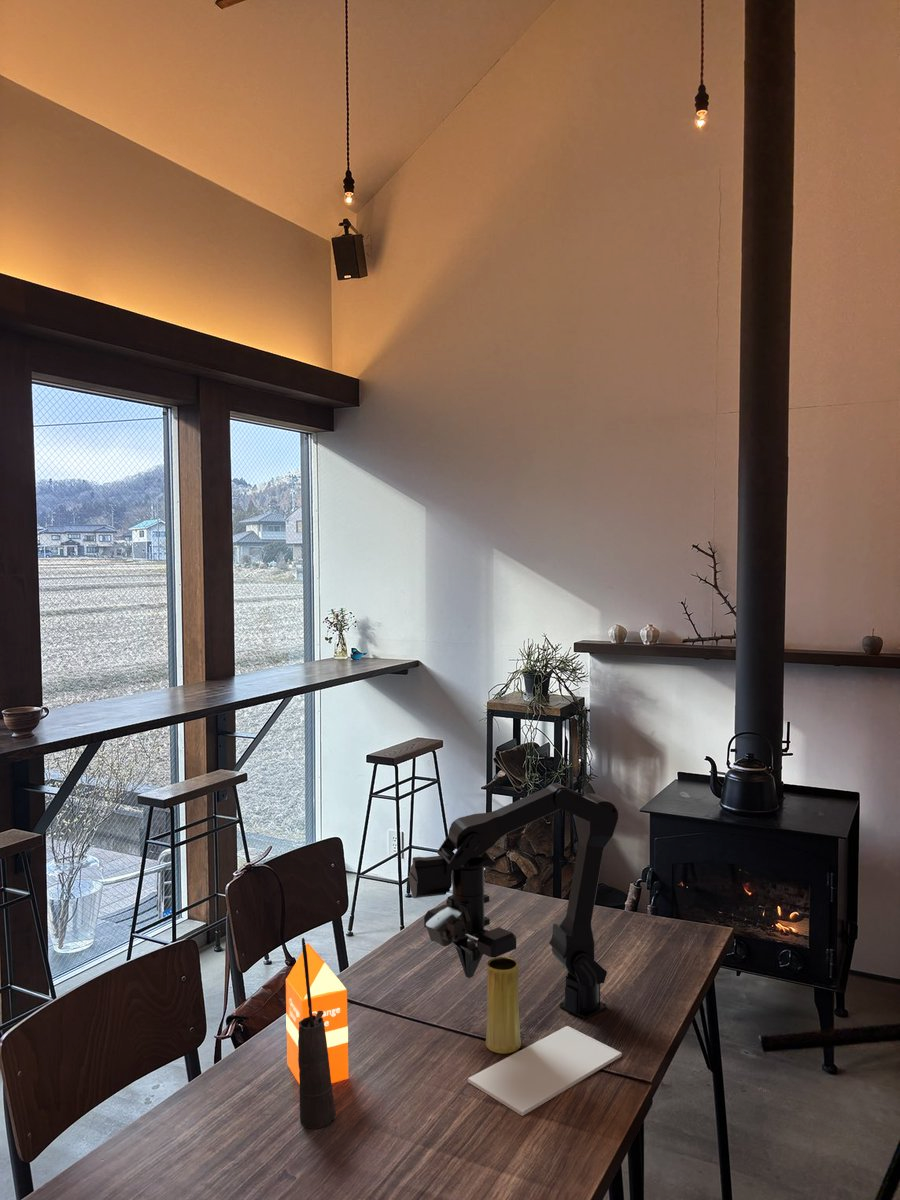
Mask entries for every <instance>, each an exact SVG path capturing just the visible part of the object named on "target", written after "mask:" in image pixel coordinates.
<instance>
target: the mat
mask: <svg viewBox="0 0 900 1200" xmlns="http://www.w3.org/2000/svg"><path fill="white" fill-rule="evenodd" d="M622 1054H623V1053H622V1052H621V1051H619V1050H617V1049H615V1048H613V1047H611V1046H608V1045H606V1044H605V1043H603V1042H601V1041H599V1040H597V1039H595V1038H593V1037H590V1036H589V1035H587V1034H584V1033H583V1032H580V1031H579V1030H577V1029H575V1028H573V1027H570V1026H569V1025H566V1026H564V1027H562V1028H560V1029H558V1030H556V1031H554V1032H552V1033H551V1034H549V1035H547V1036H545V1037H544V1038H541V1039H539V1040H537V1041H535V1042H533V1043H532V1044H530V1045H528V1046H527V1047H524V1048H522V1049H521V1050H519V1051H518V1050H517V1051H516V1052H514V1053H513V1054H512V1055H509V1056H508V1057H505V1058H503V1059H502V1060H500V1061H497V1062H496V1063H494V1064H492V1065H490V1066H488V1067H487V1068H484V1069H483V1070H481V1071H479V1072H477V1073H475V1074H473V1075H472V1076H470V1077H468V1078H467V1082H468V1083H469V1084H470V1085H472V1086H473V1087H475V1088H477V1089H478V1090H480V1091H482V1092H483V1093H485V1094H486V1095H488V1096H489V1097H491V1098H493V1100H494V1099H495V1100H496V1101H497V1102H499V1103H500V1104H502V1105H504V1106H505V1107H507V1108H509V1109H510V1110H512V1111H514V1112H515V1113H517V1114H518V1115H520V1116H522V1117H524V1116H525V1115H526V1114H528V1113H530V1112H532V1111H533V1110H535V1109H536V1108H539V1107H540V1106H541V1105H543V1104H545V1103H546V1102H548V1101H549V1100H552V1099H553V1098H554V1097H557V1096H558V1095H559V1094H561V1093H563V1092H565V1091H566V1090H569V1088H571V1087H573V1086H575V1085H577V1084H578V1083H579V1082H582V1081H583V1080H584V1079H587V1078H588V1077H589V1076H591V1075H593V1074H595V1073H596V1072H598V1071H600V1070H601V1069H603V1068H604V1067H607V1066H608V1065H609V1064H611V1063H612V1062H615V1061H616V1060H618V1059H620V1058H621V1057H622Z"/></svg>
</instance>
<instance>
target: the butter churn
mask: <svg viewBox="0 0 900 1200" xmlns="http://www.w3.org/2000/svg"><path fill="white" fill-rule="evenodd" d="M301 948H302V949H301V950H302V951H303V959H304V968H305V978H306V989H307V999H308V1007H309V1017H307V1018H303V1019H302V1020H301V1021H299V1032H298V1034H299V1035H298V1036H299V1038H298V1048H299V1049H298V1051H299V1052H298V1066H299V1080H300V1084H299V1091H298V1093H299V1122H300V1123H301V1125H302V1126H303V1127H304V1128H308V1129H311V1130H316V1129H317V1130H318V1129H320V1128H321V1129H322V1128H324V1127H327V1126H329V1125H331V1122H332V1121H333V1120H335V1119H336V1107H335V1101H334V1093H333V1083H331V1075H330V1065H329V1054H328V1050H327V1041H326V1034H325V1027H324V1021H323V1018H321V1017H322V1015H323V1013H324V1012H323V1011H318V1012H317V1015H316V1016H315V1015H314V1016H313V1014H312V1003H311V993H310V984H309V971H308V959H307V950H306V939H305V938H304V937H302V939H301Z"/></svg>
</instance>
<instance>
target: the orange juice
mask: <svg viewBox="0 0 900 1200" xmlns="http://www.w3.org/2000/svg"><path fill="white" fill-rule="evenodd" d="M305 945H306V950H307V959H308V971H309V984H310V993H311V1003H312V1014H313V1016H314V1015H315V1016H316V1015H317V1012H318V1011H323V1012H324V1013H323V1015H322V1017H321V1018H323V1021H324V1027H325V1034H326V1041H327V1050H328V1054H329V1065H330V1075H331V1083H332V1084H334V1083H338V1082H342V1081H344V1080H348V1079H349V1044H348V1043H349V1026H348V990H347V988H346V987H345V986H344V984H343V983H342V981H340V979H339V978H338V977H337V976H336V974H335V972H333V971H332V969H331V968H330V967H329V965H328V964H327V963H326V962H325V961H324V960H323V958H322V957H321V956H320V955H319V954H318V952H317V951H316V950H315V949H314V948H313V947H312V946H311V945H310V943H309V942H308V941H307V942H306V943H305ZM285 1004H286V1005H285V1007H286V1009H285V1010H286V1011H285V1012H286V1013H285V1021H286V1024H285V1025H286V1061H287V1063H286V1065H287V1066H288V1068H289V1070H290V1071H291V1073H292V1075H293V1076H294V1078H295V1080H296V1081H297V1083H298V1084H299V1085H300V1080H299V1066H298V1052H299V1051H298V1049H299V1048H298V1038H299V1036H298V1035H299V1034H298V1032H299V1021H301V1020H302V1019H303V1018H307V1017H309V1007H308V999H307V989H306V978H305V968H304V959H303V950H302V951H301V952H300V955H299V956H298V958H297V960H296V962H295V964H294V965H293V966H292V968H291V970H290V972H289V974H288V975H287V977H286V978H285Z"/></svg>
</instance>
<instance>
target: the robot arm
mask: <svg viewBox="0 0 900 1200" xmlns="http://www.w3.org/2000/svg"><path fill="white" fill-rule="evenodd" d="M559 810H564V811H566V812H568V813H571V814H572V815H574V822H575V823H574V825H575V829H576V833H577V840H578V841H577V842H578V844H577V848H576V849H577V850H576V855H575V860H574V861H575V862H574V868H573V874H572V879H571V886H570V891H569V897H568V903H567V909H566V915H565V917H564V919H563V920H562V922H560V924H558V923H553V924H552V934H551V939H550V940H549V945H550V946H551V952H552V954H553V956H554V957H555V959H556V960H557V961H558V962H559V964H561V966H562V967H563V969H565V970H566V971H567V973H566V974H567V975H566V976H565V986H564V1001H562V1002H559V1004H558V1005H559V1008H561V1009H563V1010H566V1011H567V1012H570V1013H571V1014H574V1015H576V1016H577V1017H580V1018H581V1019H585V1020H586V1019H589V1018H590V1017H593V1016H594V1015H596V1014H598V1013H600V1012H601V1011H604V1010H605V1009H608V1005H607V1004H606V1003H604V1002H602V1001H601V984H604V983H605V981H606V978H607V975H608V971H607V970H606V969H605V968H604V967H603V966H602V965H601V964H599V962H597V960H595V954H596V953H595V952H596V949H595V947H596V946H595V945H596V943H595V939H594V933H593V929H592V920H593V915H594V909H595V903H596V897H597V891H598V886H599V885H598V884H599V881H600V880H599V879H600V873H601V866H602V861H603V854H604V850H605V848H606V847H607V845H608V843H609V842H610V841H611V839H612V838H613V836H614V834H615V830H616V827H617V825H618V822H619V817H620V816H619V810H618V809H617V808H616V805H615V804H613V803H612V802H611V801H608V800H607V799H606V798H603V797H601V796H600V795H598V794H595V793H586V794H582V793H580V792H577V791H576V790H572V789H570V788H567V787H566V786H564V785H562V784H560V783H559V782H553V783H550V784H549V785H547V786H546V787H545V788H542V789H540V790H538V791H536V792H535V791H534V792H533V793H532V794H529V795H526V796H525V797H522V798H520V799H518V800H516V801H513V802H512V803H509V804H507V805H505V806H502V807H500V808H498V809H496V810H494V811H489V812H481V813H480V812H479V813H473V814H469V815H465V816H462V817H461V816H460V817H459V818H456V819H455V820H453V821H452V822H451V824H450V826H449V829H448V834H447V836H446V838H445V839H444V840H443V842H442V844H441V845H440V847H439V848H438V849H437V851H436V853H437V855H436V856H435V855H434V856H433V855H432V856H425V857H424V856H423V857H422V856H416V857H415V856H414V857H412V864H411V866H410V870H409V873H408V881H409V888H410V893H411V896H412V897H413V899H419V898H428V897H435V896H445V895H447V893H450V891H451V890H452V895H450V896H447V899H446V903H445V904H444V905H441V906H438V907H434V908H433V909H429V910H427V912H426V914H425V915H424V916H423V926H424V928H426V930H427V933H428V937H429V939H430V941H432V942H435V943H437V944H439V945H440V946H443V947H449V946H450V945H452V946H453V947H454V948H455V950H456V952H457V955H458V958H459V961H460V964H461V966H462V969H463V973H464V975H465V977H466V978H468V979H472V978H473V977H474V976H475V973H476V971H477V969H478V968H479V967H478V966H479V964H480V962H481V959H482V958H483V956H484V955H485V956H487V957H489V958H497V957H501V956H503V955H505V954H507V953H510V952H511V951H512V952H513V951H514V950H517V935H516V934H514V932H511V931H510V930H507V929H504V928H502V927H499V926H498V927H496V928H493V929H489V928H488V927H486V926H489V925H491V924H490V918H488V917H486V916H485V915H486V912H485V910H486V909H485V906H486V905H485V904H487V903H489V902H490V895H487V894H485V867H494V866H496V865H497V863H496V861H495V860H494V859H493V858H492V857H491V856H490V855H489V854H488V851H489V850H490V849H492V848H493V847H494V846H495V845H497V843H498V842H499V841H500V839H501V838H503V837H504V836H506V835H508V834H510V833H511V832H514V831H517V830H518V829H520V828H523V827H525V826H527V825H529V824H531V823H534V822H537V820H540V819H542V818H545V817H547V816H549V815H551V814H553V813H556V812H557V811H559ZM455 850H456V851H455ZM454 851H455V852H454ZM451 888H452V889H451Z"/></svg>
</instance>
